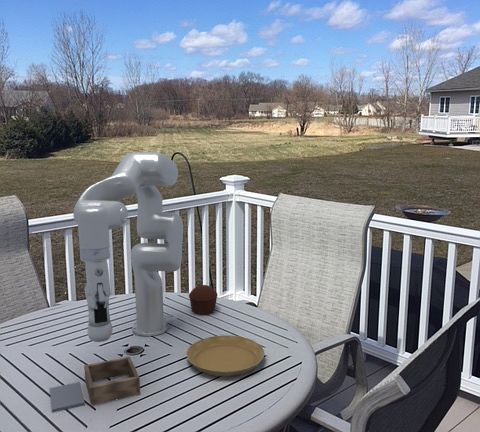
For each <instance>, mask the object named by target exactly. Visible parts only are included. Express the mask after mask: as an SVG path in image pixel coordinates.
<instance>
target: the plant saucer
mask: <svg viewBox="0 0 480 432" xmlns="http://www.w3.org/2000/svg"><path fill="white" fill-rule="evenodd" d="M264 357H265V349H264V347H263V346H262V345H261V344H260V343H258V342H257V341H255V340H254V339H251V338H248V337H244V336H239V335H231V334H230V335H227V334H226V335H225V334H223V335H213V336H207V337H205V338H201V339H200V340H196V341H195V342H193V343H192V344H191V345H190V346H189V347H188V348H187V351H186V358H187V360H188V362H189V363H190V364H191V366H193V367H194V368H195V369H196V370H198V371H200V372H201V373H205V374H207V375H210V376H213V377H234V376H241V375H242V374H246V373H248V372H250V371H252V370H254V369H255V368H256V367H258V366H259V364H261V362H262V361H263V359H264Z"/></svg>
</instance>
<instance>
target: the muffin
mask: <svg viewBox="0 0 480 432" xmlns="http://www.w3.org/2000/svg"><path fill="white" fill-rule="evenodd" d="M218 296H219V295H218V292H217V291H216V290H215V289H214V288H213V287H212V286H210V285H207V284H200V285H196V286H195V287H194V288H193V289H192V290H191V291H190V293H189V294H188V297H189V303H190V307H191V312H192V313H193V314H194V315H198V316H208V315H210V314H212V315H213V314H214V313H215V311H216V306H217V298H218Z"/></svg>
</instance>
